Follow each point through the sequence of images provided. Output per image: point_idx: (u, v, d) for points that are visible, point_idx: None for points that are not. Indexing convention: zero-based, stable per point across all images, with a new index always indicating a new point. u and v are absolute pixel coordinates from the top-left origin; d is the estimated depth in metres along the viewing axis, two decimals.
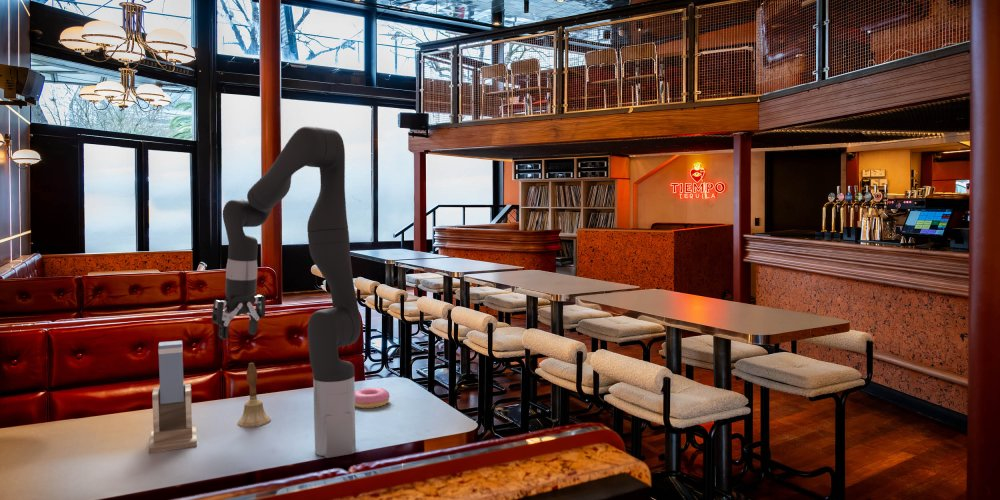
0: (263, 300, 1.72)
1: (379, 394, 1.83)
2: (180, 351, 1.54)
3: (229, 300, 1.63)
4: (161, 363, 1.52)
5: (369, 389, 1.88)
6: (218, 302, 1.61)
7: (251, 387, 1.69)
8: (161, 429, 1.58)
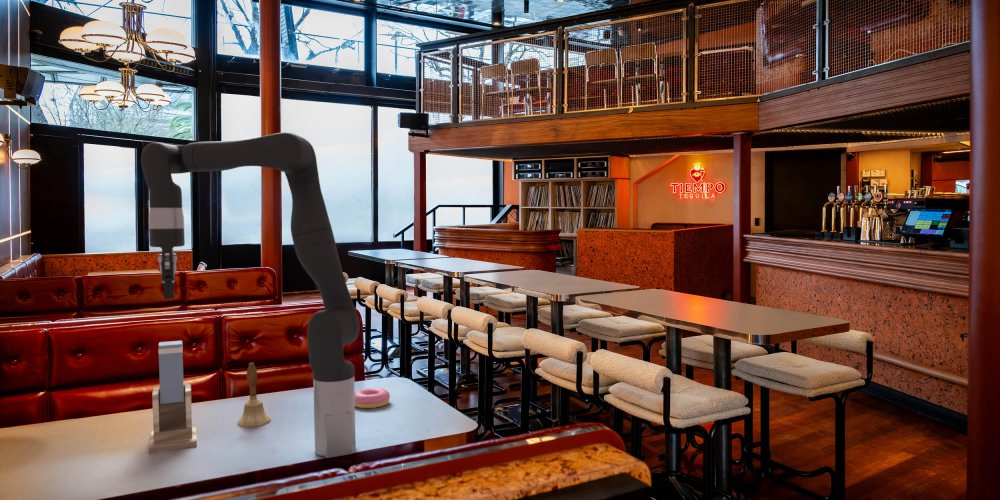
0: None
1: (379, 394, 1.83)
2: (180, 351, 1.54)
3: (171, 254, 1.51)
4: (161, 363, 1.52)
5: (369, 389, 1.88)
6: (169, 264, 1.49)
7: (251, 387, 1.69)
8: (161, 429, 1.58)
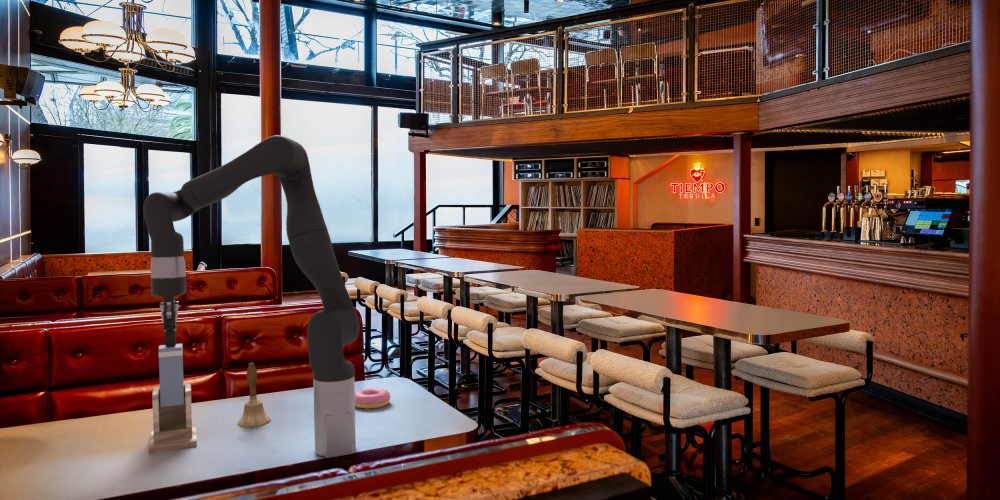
0: None
1: (380, 394, 1.82)
2: (180, 354, 1.54)
3: (172, 303, 1.51)
4: (162, 366, 1.52)
5: (370, 389, 1.88)
6: (171, 313, 1.49)
7: (251, 387, 1.69)
8: (161, 429, 1.58)
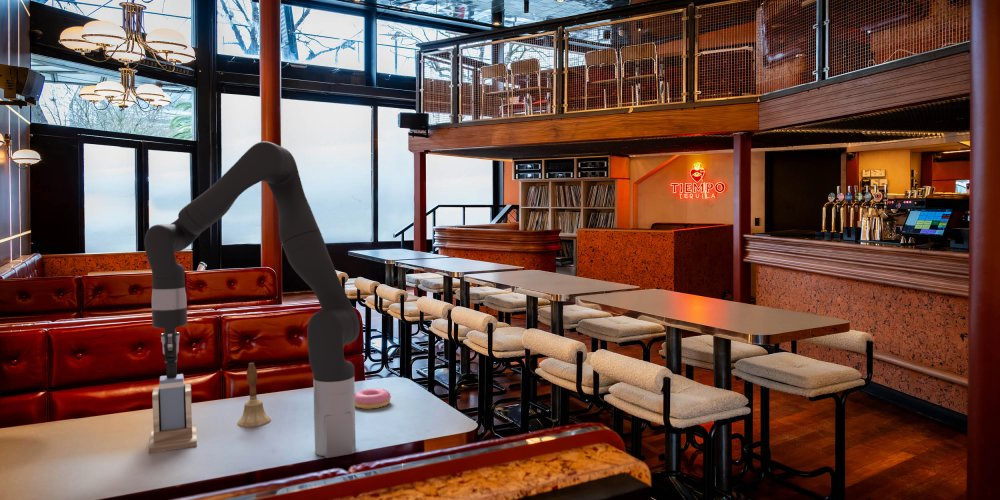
0: None
1: (380, 395, 1.82)
2: (181, 385, 1.54)
3: (174, 335, 1.52)
4: (163, 398, 1.53)
5: (370, 390, 1.88)
6: (172, 346, 1.50)
7: (251, 387, 1.69)
8: None
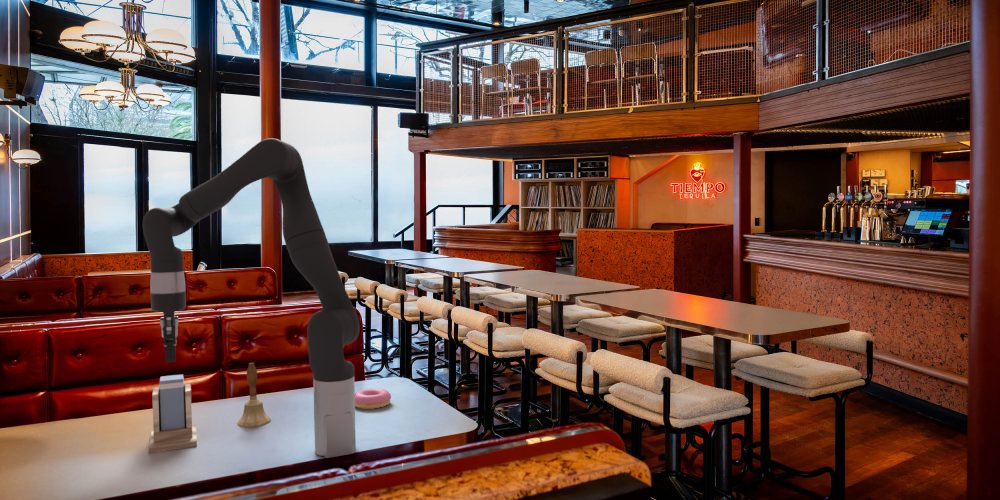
0: None
1: (380, 395, 1.82)
2: (181, 385, 1.54)
3: (172, 319, 1.51)
4: (163, 398, 1.53)
5: (370, 390, 1.88)
6: (171, 329, 1.50)
7: (251, 387, 1.69)
8: None
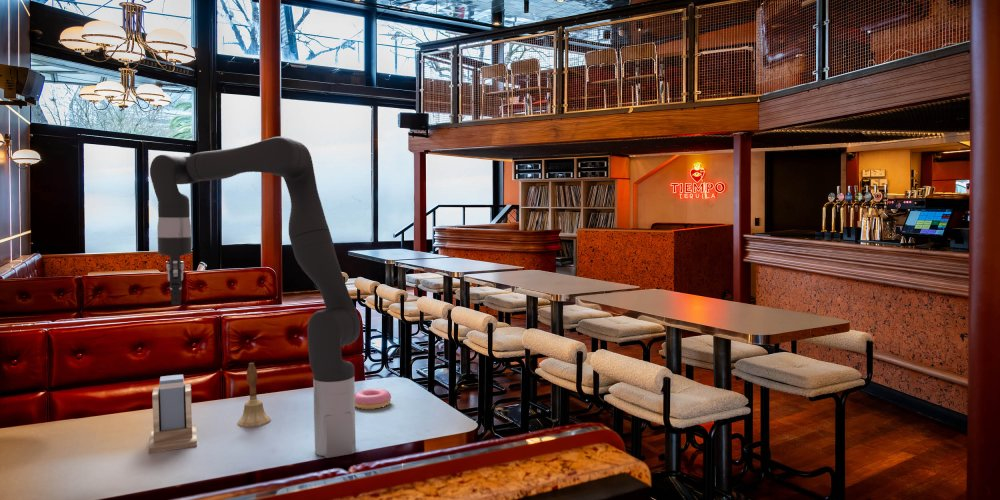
0: None
1: (381, 395, 1.82)
2: (181, 385, 1.54)
3: (179, 262, 1.57)
4: (163, 398, 1.53)
5: (371, 390, 1.87)
6: (178, 271, 1.55)
7: (251, 387, 1.69)
8: None
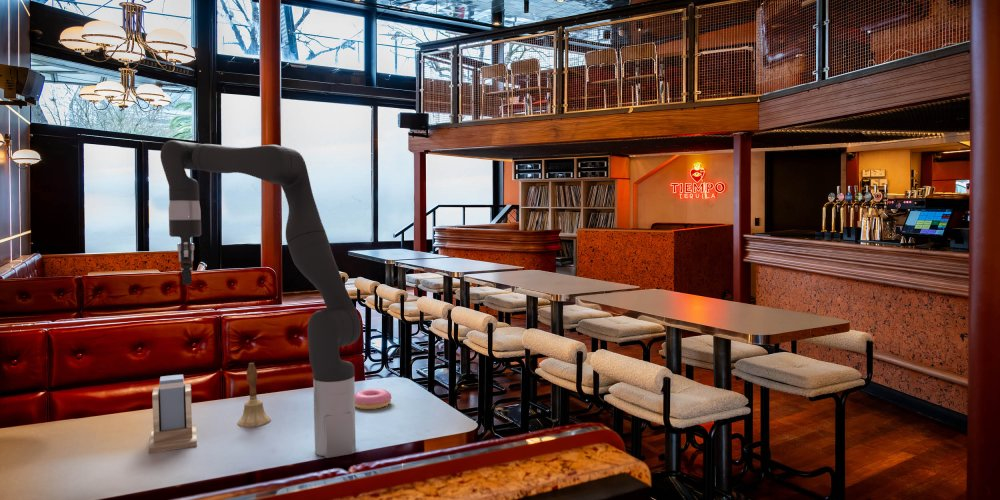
0: None
1: (381, 395, 1.82)
2: (181, 385, 1.54)
3: (189, 243, 1.64)
4: (163, 398, 1.53)
5: (371, 390, 1.87)
6: (188, 252, 1.62)
7: (251, 387, 1.69)
8: None
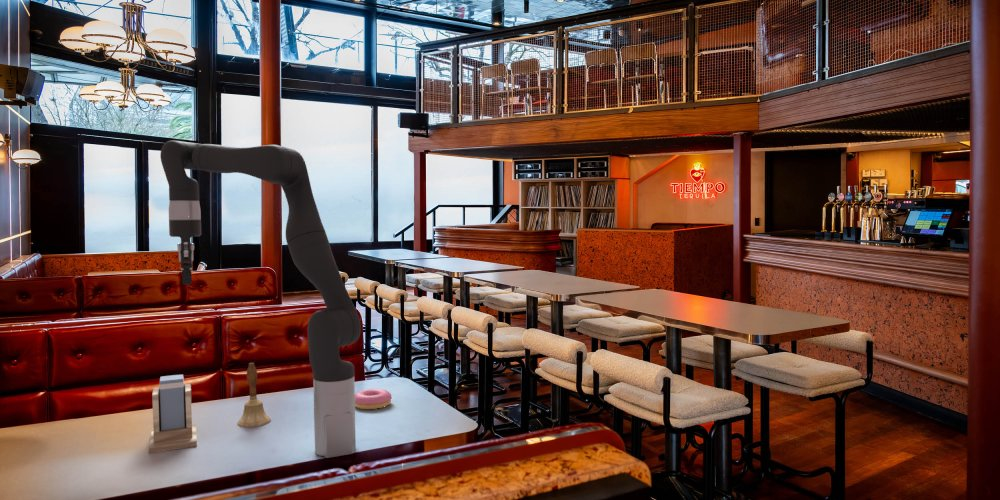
0: None
1: (381, 395, 1.82)
2: (181, 385, 1.54)
3: (189, 243, 1.64)
4: (163, 398, 1.53)
5: (371, 390, 1.87)
6: (188, 252, 1.62)
7: (251, 387, 1.69)
8: None
